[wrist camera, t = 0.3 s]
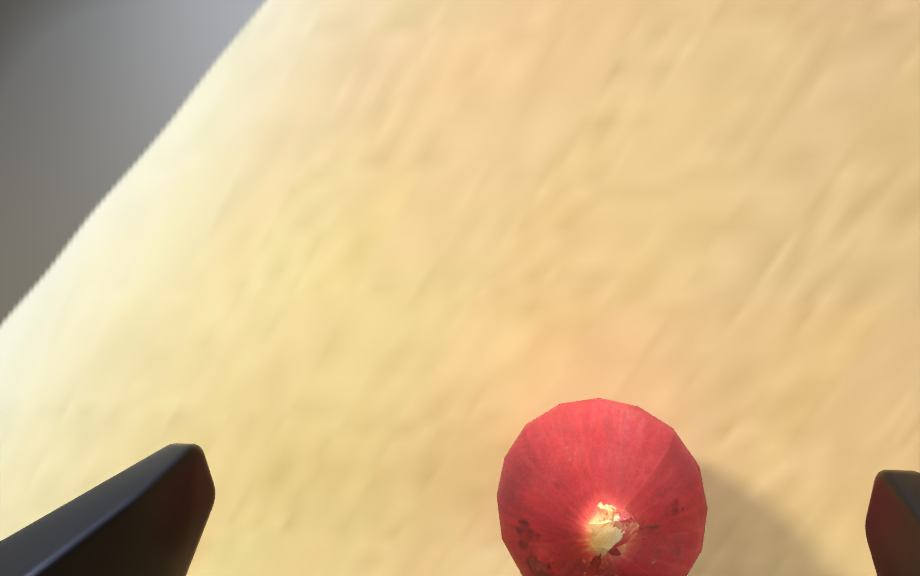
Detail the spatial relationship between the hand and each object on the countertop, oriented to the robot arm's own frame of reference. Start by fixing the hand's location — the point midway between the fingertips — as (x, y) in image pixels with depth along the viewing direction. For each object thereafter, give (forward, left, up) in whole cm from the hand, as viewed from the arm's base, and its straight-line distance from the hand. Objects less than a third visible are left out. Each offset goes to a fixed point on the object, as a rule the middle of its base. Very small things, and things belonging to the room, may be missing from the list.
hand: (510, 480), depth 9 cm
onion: (-3, 0, -15) cm, 15 cm away
